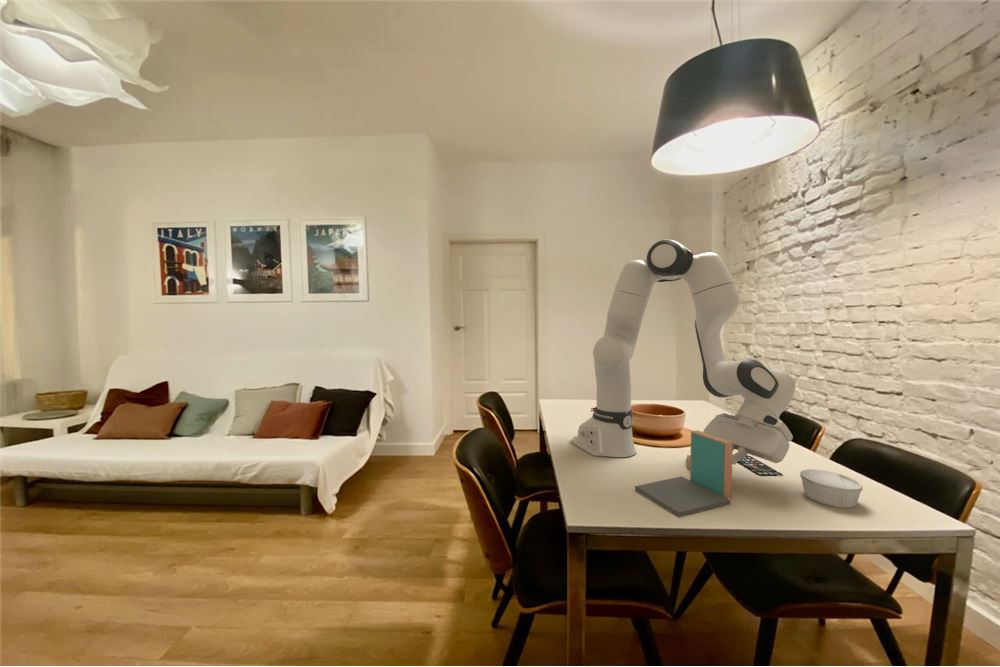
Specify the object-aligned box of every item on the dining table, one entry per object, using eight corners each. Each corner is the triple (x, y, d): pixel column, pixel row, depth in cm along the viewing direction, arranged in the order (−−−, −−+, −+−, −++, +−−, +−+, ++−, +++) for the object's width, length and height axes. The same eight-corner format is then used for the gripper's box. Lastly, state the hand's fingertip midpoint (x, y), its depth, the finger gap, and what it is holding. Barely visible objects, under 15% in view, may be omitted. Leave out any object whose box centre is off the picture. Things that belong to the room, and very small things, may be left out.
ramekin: (875, 511, 85) (876, 488, 84) (826, 511, 85) (826, 488, 85) (832, 489, 96) (833, 469, 96) (788, 488, 96) (789, 468, 96)
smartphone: (758, 475, 104) (726, 455, 119) (758, 477, 104) (726, 457, 119) (785, 475, 104) (749, 455, 118) (785, 477, 104) (749, 457, 119)
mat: (635, 489, 95) (635, 486, 95) (681, 479, 101) (681, 476, 101) (679, 516, 82) (679, 512, 82) (729, 503, 88) (730, 499, 88)
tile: (689, 482, 100) (690, 431, 99) (696, 481, 100) (697, 430, 100) (723, 499, 90) (725, 443, 90) (731, 497, 91) (732, 441, 91)
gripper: (714, 405, 109) (688, 441, 106) (789, 423, 90) (761, 468, 87) (724, 418, 111) (700, 455, 108) (800, 439, 92) (773, 484, 89)
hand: (728, 461), depth 97 cm, fingers closed
